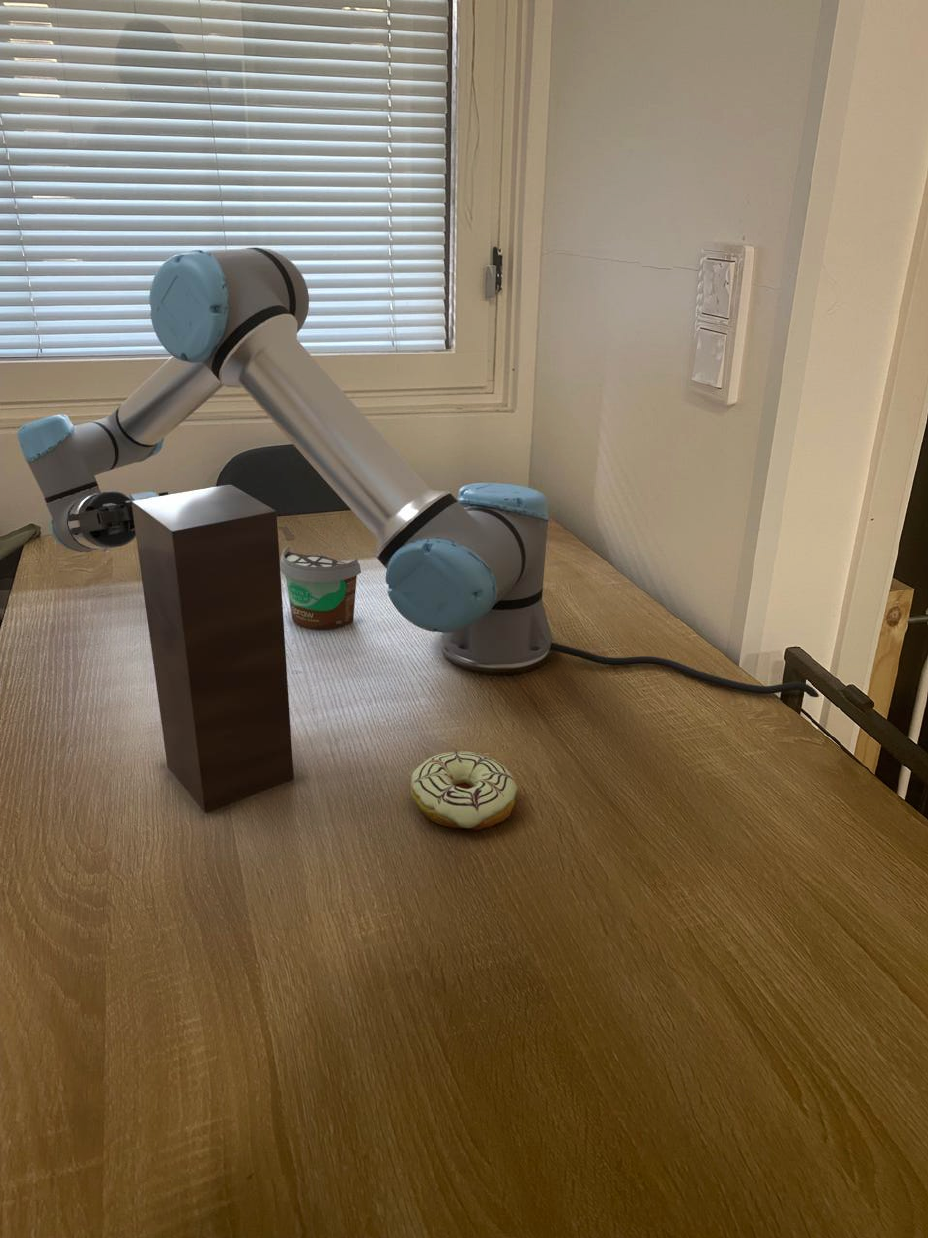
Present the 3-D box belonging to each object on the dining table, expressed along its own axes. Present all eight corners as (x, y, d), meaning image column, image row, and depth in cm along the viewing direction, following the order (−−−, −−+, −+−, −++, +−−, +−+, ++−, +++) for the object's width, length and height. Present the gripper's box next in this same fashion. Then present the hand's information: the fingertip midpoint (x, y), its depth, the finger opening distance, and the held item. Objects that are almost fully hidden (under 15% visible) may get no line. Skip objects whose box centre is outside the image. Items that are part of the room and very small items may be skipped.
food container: (266, 624, 131) (261, 559, 126) (289, 607, 136) (285, 545, 131) (341, 640, 127) (339, 574, 122) (362, 623, 132) (360, 559, 127)
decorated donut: (477, 852, 87) (478, 820, 85) (390, 810, 93) (390, 779, 91) (533, 798, 95) (535, 769, 93) (450, 763, 100) (451, 734, 99)
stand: (167, 766, 98) (131, 500, 86) (252, 737, 104) (230, 484, 91) (204, 813, 91) (171, 531, 78) (294, 779, 97) (276, 510, 84)
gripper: (168, 537, 130) (235, 527, 111) (50, 558, 120) (102, 551, 102) (156, 485, 129) (222, 466, 110) (36, 502, 119) (86, 484, 100)
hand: (164, 507), depth 106 cm, fingers closed on bar, 3 cm apart
